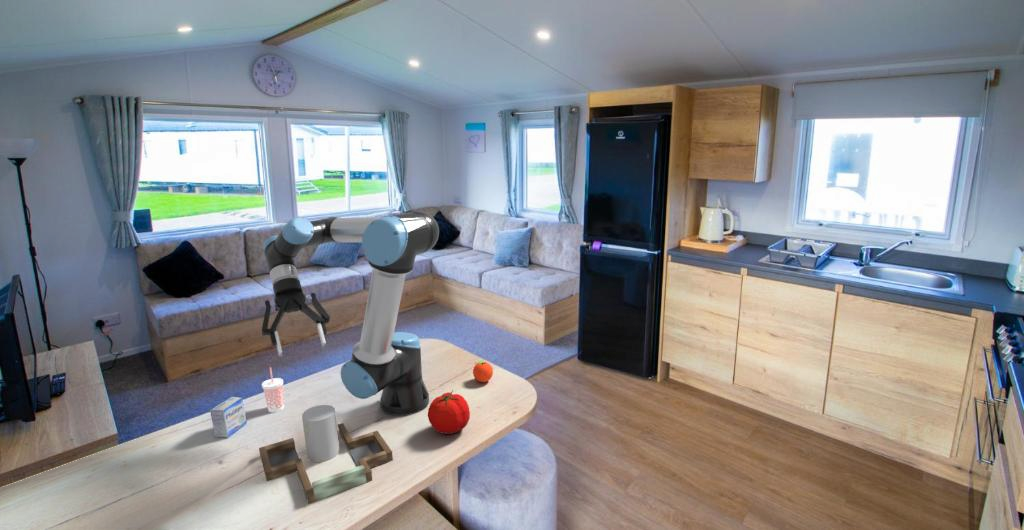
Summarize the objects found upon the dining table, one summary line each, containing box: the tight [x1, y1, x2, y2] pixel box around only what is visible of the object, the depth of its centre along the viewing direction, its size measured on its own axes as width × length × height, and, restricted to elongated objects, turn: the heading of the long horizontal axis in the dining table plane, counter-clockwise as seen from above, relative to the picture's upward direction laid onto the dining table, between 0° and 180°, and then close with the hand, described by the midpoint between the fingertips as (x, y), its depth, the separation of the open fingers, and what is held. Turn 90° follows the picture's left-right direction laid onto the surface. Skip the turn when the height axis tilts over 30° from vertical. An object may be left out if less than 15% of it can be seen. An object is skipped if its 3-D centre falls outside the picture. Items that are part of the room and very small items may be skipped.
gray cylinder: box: [301, 404, 340, 463], centre depth 135 cm, size 8×8×12 cm
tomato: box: [427, 390, 471, 435], centre depth 145 cm, size 12×12×11 cm
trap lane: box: [258, 422, 394, 504], centre depth 132 cm, size 29×26×4 cm
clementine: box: [472, 360, 494, 383], centre depth 175 cm, size 8×7×7 cm
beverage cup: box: [261, 366, 285, 413], centre depth 159 cm, size 6×6×14 cm
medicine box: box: [209, 396, 247, 438], centre depth 148 cm, size 8×4×9 cm, turn 168°
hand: (303, 349), depth 141 cm, fingers open, 11 cm apart
